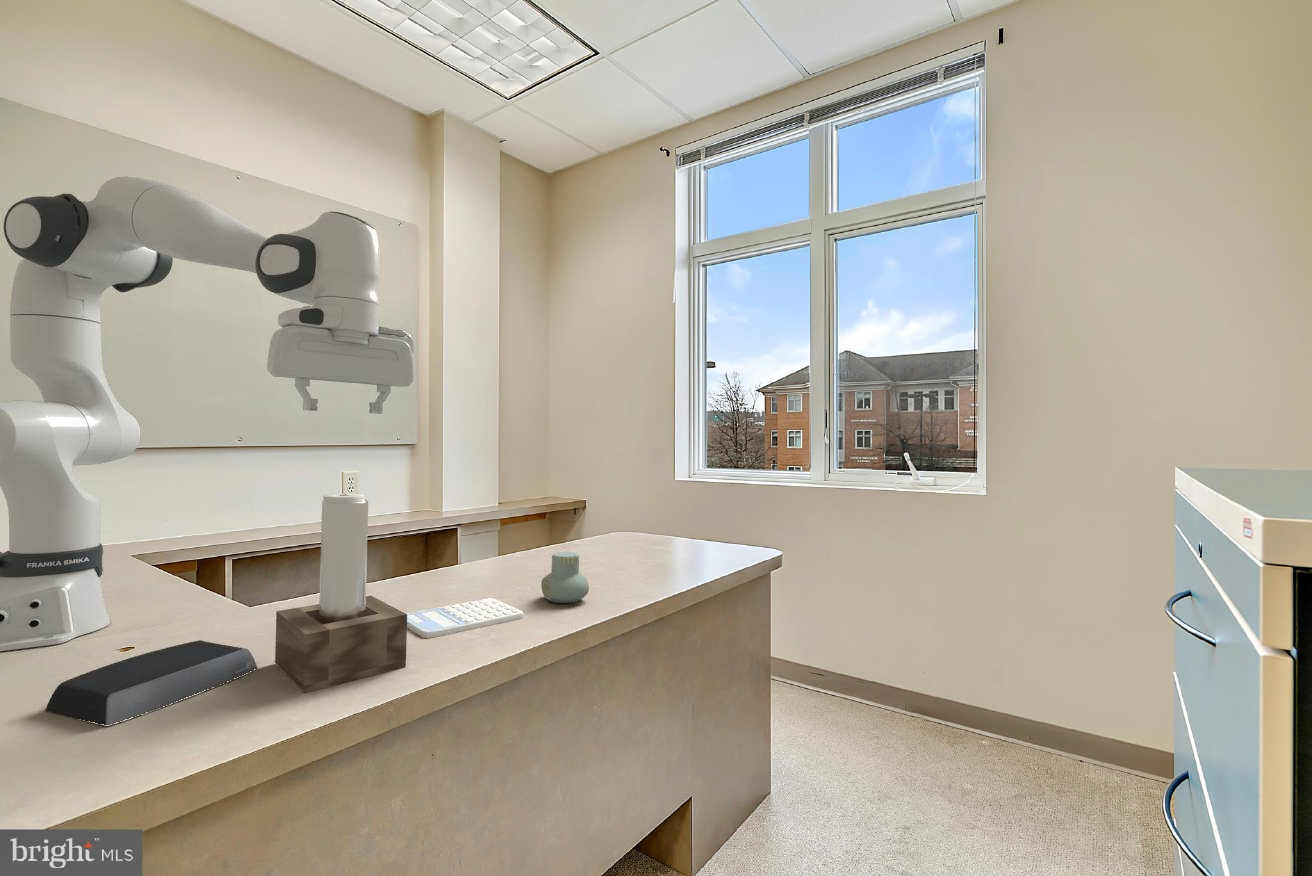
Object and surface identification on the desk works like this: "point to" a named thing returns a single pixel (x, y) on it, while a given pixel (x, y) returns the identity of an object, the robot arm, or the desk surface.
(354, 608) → the tall grey cylinder
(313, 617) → the socket block
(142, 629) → the desk surface
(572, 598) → the air freshener
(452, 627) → the calculator
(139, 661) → the external hard drive
